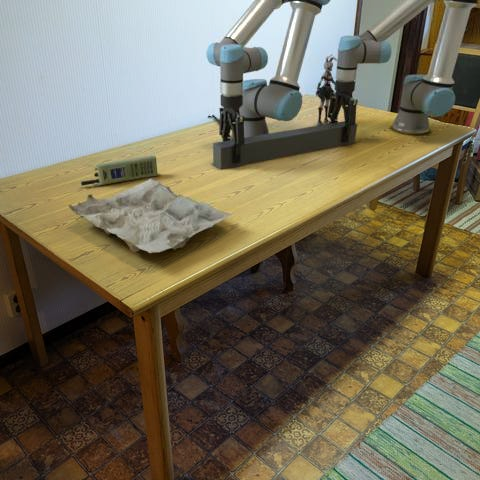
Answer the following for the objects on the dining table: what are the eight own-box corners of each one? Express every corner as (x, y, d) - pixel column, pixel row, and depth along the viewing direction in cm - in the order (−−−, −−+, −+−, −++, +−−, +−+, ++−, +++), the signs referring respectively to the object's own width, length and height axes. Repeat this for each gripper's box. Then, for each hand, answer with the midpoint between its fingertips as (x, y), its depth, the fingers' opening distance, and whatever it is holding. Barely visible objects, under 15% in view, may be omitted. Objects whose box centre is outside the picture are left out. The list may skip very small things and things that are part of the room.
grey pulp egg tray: (148, 192, 160) (63, 221, 139) (147, 174, 157) (60, 201, 136) (236, 233, 139) (152, 274, 118) (238, 213, 136) (151, 251, 115)
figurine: (317, 128, 219) (323, 55, 204) (306, 125, 223) (312, 53, 208) (338, 122, 227) (346, 52, 213) (327, 119, 231) (334, 50, 217)
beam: (220, 169, 177) (220, 148, 173) (213, 163, 181) (212, 143, 177) (354, 143, 203) (357, 124, 199) (345, 138, 207) (347, 120, 204)
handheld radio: (158, 176, 170) (83, 189, 160) (155, 173, 172) (80, 186, 162) (156, 157, 167) (79, 169, 157) (153, 154, 169) (77, 166, 159)
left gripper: (256, 99, 163) (254, 166, 175) (227, 87, 178) (227, 149, 190) (236, 102, 160) (235, 170, 172) (208, 89, 175) (209, 152, 186)
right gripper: (370, 84, 185) (362, 145, 196) (336, 74, 199) (330, 131, 211) (355, 86, 181) (347, 148, 193) (321, 76, 196) (316, 134, 208)
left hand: (231, 159), depth 181 cm, fingers open, 7 cm apart
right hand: (338, 139), depth 202 cm, fingers open, 7 cm apart
